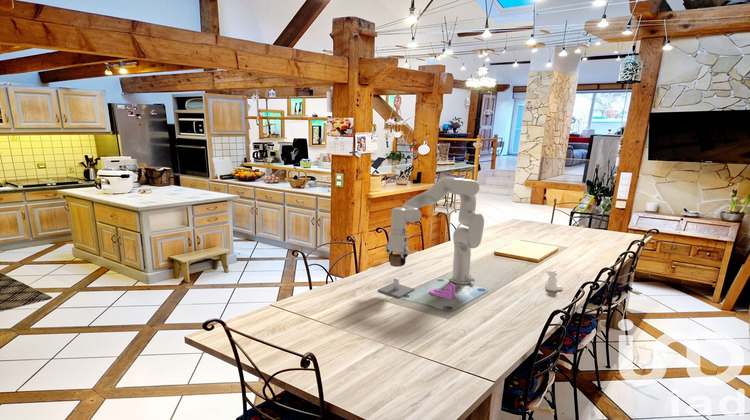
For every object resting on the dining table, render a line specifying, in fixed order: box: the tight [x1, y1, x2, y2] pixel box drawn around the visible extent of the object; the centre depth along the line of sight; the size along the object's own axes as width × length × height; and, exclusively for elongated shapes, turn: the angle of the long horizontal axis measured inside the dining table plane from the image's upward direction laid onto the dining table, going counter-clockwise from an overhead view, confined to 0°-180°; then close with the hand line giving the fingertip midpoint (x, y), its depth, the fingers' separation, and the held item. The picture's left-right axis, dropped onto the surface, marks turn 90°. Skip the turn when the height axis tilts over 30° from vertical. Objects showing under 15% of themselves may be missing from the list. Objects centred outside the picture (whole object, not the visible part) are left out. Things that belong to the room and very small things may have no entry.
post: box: [377, 277, 415, 299], centre depth 220 cm, size 14×14×7 cm
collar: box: [389, 253, 404, 268], centre depth 217 cm, size 7×7×5 cm
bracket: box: [429, 282, 456, 300], centre depth 216 cm, size 13×6×7 cm, turn 55°
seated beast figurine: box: [544, 268, 564, 292], centre depth 226 cm, size 10×9×12 cm
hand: (396, 263), depth 218 cm, fingers closed on collar, 7 cm apart
